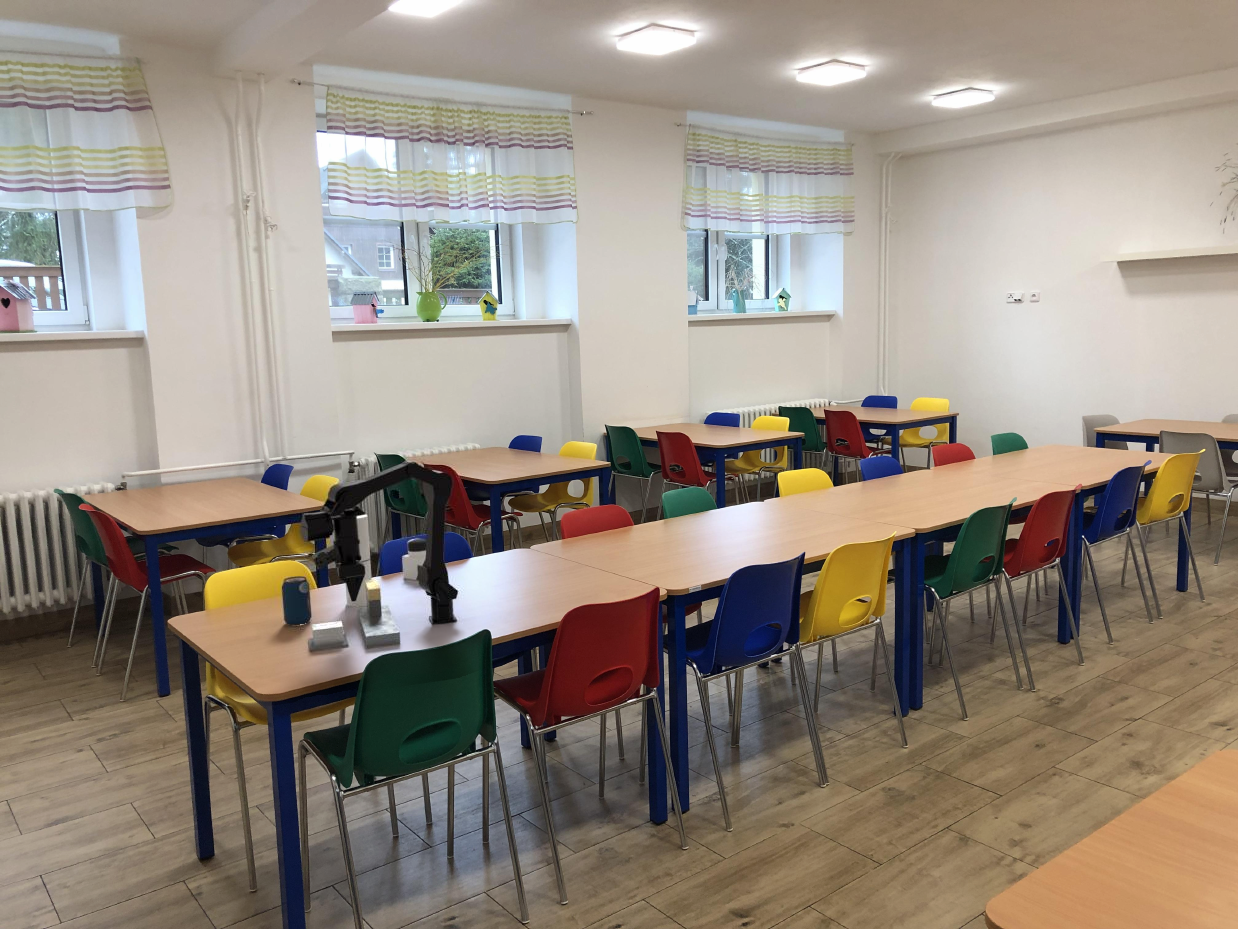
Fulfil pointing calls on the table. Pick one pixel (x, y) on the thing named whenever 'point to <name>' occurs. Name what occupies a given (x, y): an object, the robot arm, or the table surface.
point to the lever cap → (327, 633)
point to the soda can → (296, 600)
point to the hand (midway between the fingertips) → (352, 596)
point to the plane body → (378, 625)
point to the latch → (372, 590)
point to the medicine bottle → (414, 558)
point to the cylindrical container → (365, 559)
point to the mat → (328, 646)
